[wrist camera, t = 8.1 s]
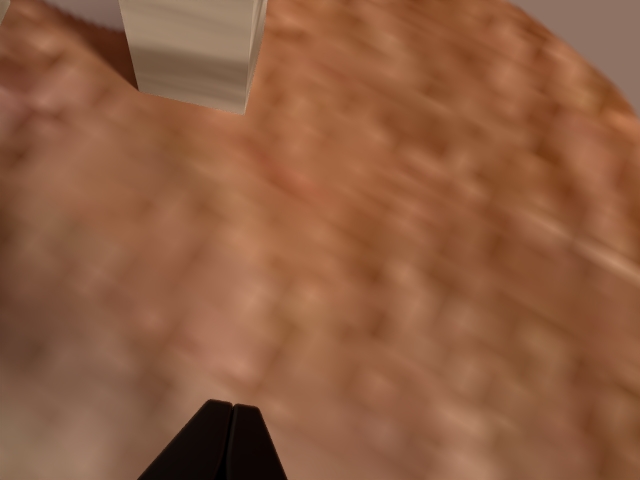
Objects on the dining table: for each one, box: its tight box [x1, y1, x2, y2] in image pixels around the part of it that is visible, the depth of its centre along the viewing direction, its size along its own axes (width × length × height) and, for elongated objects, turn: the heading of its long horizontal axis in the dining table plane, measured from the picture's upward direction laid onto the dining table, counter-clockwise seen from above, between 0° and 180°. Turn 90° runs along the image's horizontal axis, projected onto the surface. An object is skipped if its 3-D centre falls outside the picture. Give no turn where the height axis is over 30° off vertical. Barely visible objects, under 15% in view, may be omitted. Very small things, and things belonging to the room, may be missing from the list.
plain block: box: [118, 0, 267, 115], centre depth 24 cm, size 5×5×8 cm
